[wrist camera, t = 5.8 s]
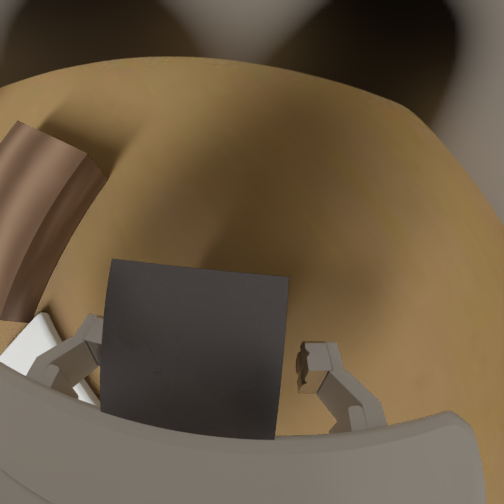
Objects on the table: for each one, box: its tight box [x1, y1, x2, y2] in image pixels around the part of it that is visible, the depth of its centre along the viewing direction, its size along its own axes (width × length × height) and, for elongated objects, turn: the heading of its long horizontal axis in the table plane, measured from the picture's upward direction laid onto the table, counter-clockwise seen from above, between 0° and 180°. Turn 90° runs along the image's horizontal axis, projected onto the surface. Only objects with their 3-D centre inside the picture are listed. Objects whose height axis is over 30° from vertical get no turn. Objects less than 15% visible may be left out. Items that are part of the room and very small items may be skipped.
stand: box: [0, 120, 108, 323], centre depth 16 cm, size 14×14×4 cm
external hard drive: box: [0, 312, 100, 407], centre depth 14 cm, size 2×8×12 cm
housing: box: [100, 259, 289, 440], centre depth 12 cm, size 5×5×11 cm
